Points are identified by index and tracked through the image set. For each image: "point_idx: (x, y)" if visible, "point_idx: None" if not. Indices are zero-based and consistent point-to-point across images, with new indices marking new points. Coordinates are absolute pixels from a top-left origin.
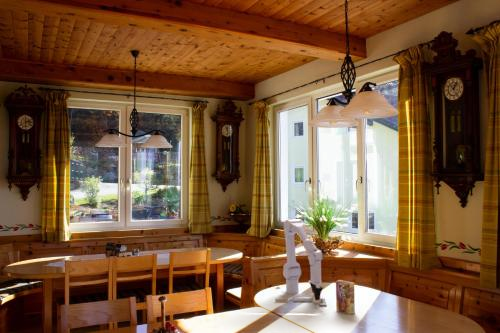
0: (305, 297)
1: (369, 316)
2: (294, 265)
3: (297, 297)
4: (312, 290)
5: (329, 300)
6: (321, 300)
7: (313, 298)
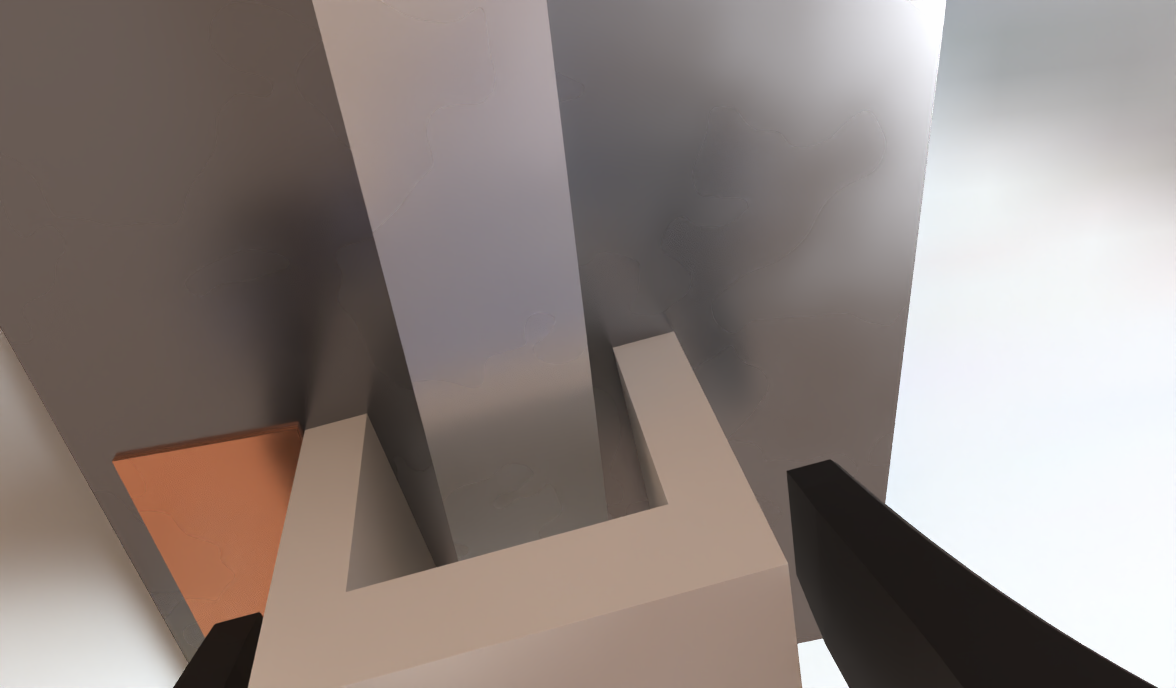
0: (519, 175)
1: None
2: None
3: None
4: (912, 635)
5: (810, 680)
6: None
7: (287, 573)
